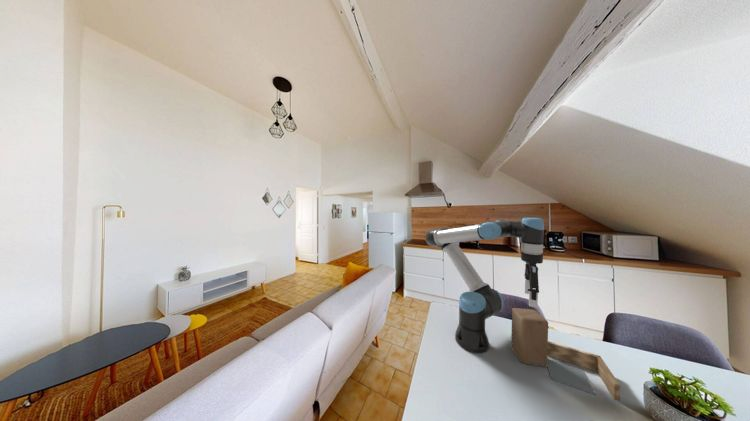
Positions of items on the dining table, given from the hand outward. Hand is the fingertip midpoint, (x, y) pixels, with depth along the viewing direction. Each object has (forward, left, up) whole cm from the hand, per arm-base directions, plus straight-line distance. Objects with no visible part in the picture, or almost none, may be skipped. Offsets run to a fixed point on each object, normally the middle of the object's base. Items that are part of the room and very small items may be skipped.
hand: (530, 299), depth 86 cm
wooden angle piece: (+15, 0, -26) cm, 31 cm away
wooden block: (0, 0, -27) cm, 27 cm away
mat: (+12, -3, -26) cm, 29 cm away
